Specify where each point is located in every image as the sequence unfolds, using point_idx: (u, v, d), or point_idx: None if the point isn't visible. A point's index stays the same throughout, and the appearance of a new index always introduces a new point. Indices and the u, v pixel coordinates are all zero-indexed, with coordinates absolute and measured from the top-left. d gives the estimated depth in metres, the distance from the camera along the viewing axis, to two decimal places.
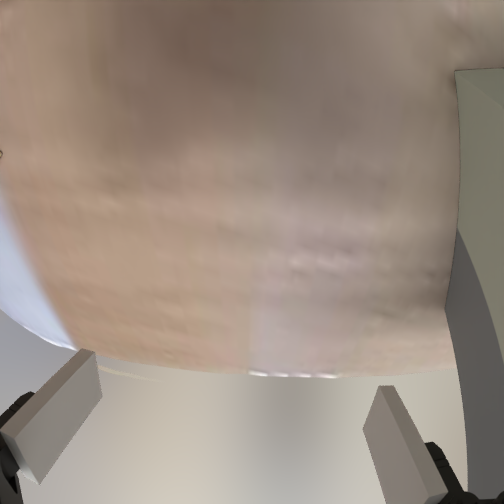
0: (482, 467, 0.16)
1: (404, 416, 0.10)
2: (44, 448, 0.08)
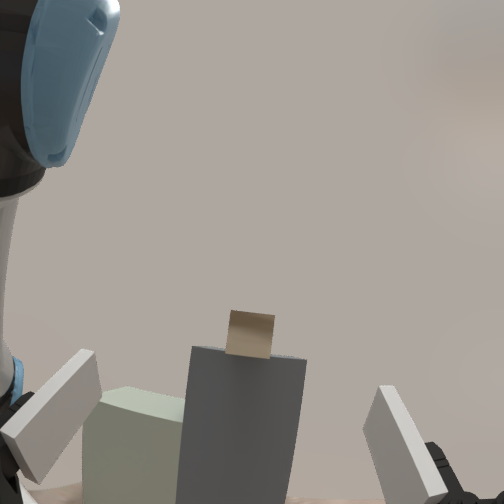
0: (249, 434, 0.34)
1: (404, 416, 0.10)
2: (44, 448, 0.08)
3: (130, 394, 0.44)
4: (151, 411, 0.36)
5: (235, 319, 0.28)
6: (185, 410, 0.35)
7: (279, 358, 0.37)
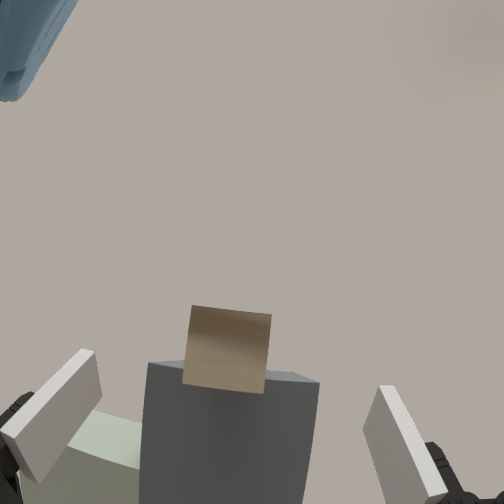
0: (236, 489, 0.21)
1: (404, 416, 0.10)
2: (44, 448, 0.08)
3: None
4: (100, 449, 0.23)
5: (199, 321, 0.15)
6: (141, 453, 0.21)
7: (278, 381, 0.24)
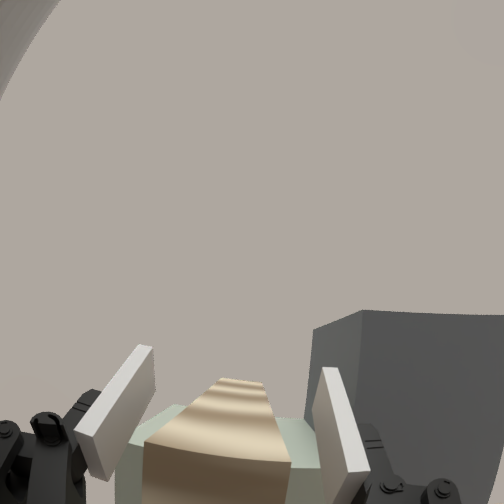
0: (453, 455, 0.15)
1: (341, 395, 0.12)
2: (114, 444, 0.09)
3: None
4: None
5: (159, 468, 0.07)
6: None
7: (489, 316, 0.18)
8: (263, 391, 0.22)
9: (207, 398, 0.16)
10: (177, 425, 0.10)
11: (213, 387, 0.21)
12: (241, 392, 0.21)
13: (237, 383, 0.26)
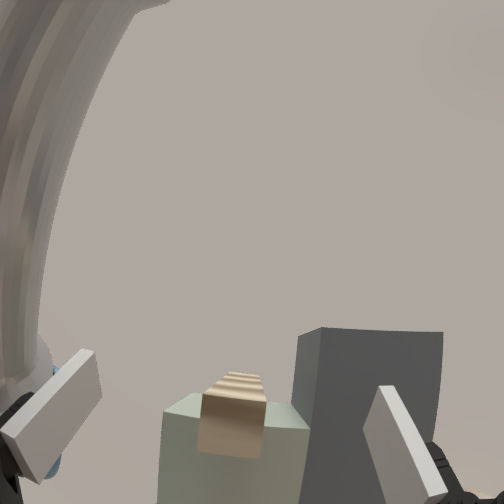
0: None
1: (404, 416, 0.10)
2: (44, 448, 0.08)
3: None
4: None
5: (208, 406, 0.18)
6: (313, 412, 0.27)
7: (418, 332, 0.29)
8: (259, 379, 0.33)
9: (223, 381, 0.27)
10: (213, 390, 0.21)
11: (225, 376, 0.33)
12: (244, 379, 0.32)
13: (241, 375, 0.37)
